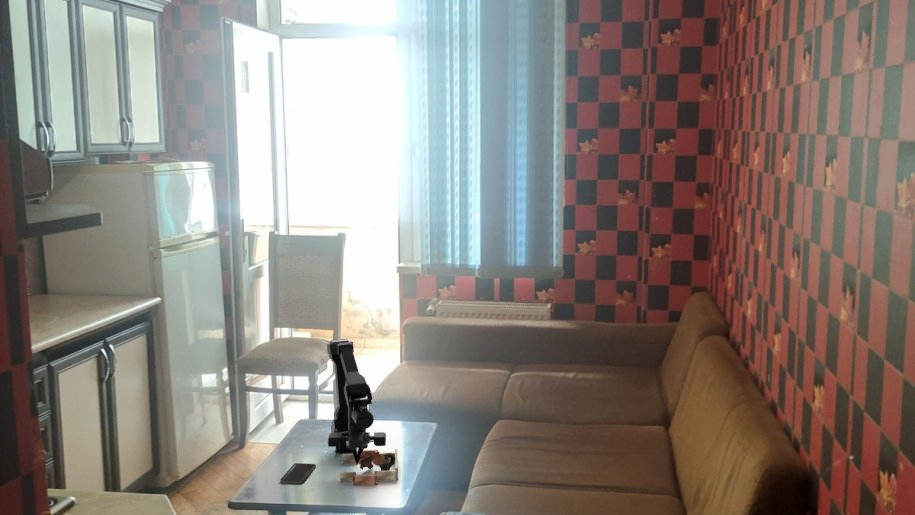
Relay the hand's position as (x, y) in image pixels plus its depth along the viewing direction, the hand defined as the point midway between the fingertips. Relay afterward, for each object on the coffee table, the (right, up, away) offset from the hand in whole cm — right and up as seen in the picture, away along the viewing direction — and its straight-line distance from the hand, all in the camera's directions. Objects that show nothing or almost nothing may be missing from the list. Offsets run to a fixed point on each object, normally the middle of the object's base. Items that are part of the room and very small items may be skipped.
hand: (357, 464), depth 272 cm
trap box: (+4, -2, +1) cm, 5 cm away
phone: (-19, -4, -1) cm, 19 cm away
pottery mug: (+7, -3, -1) cm, 8 cm away
